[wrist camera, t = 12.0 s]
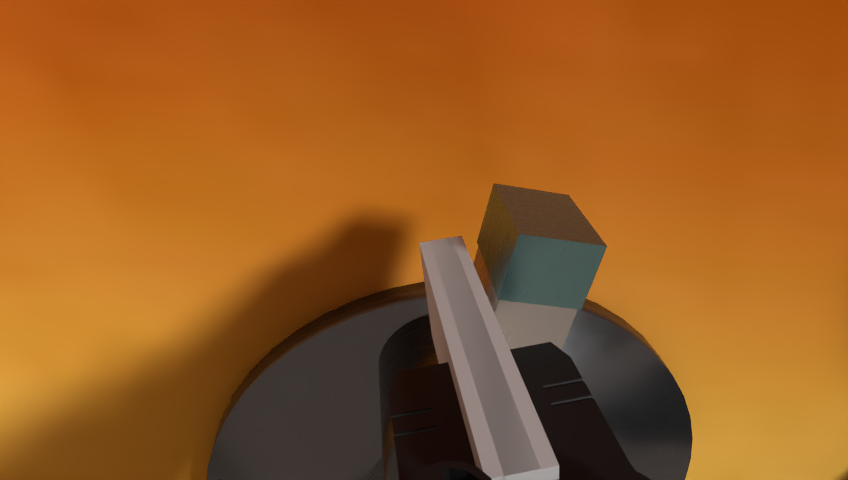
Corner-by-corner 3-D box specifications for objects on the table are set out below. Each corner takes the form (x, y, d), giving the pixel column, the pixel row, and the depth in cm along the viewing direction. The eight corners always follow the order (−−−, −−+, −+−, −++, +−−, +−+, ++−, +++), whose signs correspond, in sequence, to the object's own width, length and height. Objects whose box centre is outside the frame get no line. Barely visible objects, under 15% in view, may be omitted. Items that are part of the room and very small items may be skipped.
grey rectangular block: (486, 414, 22) (526, 572, 16) (369, 405, 21) (372, 568, 16) (575, 157, 17) (672, 265, 12) (428, 132, 16) (462, 236, 11)
